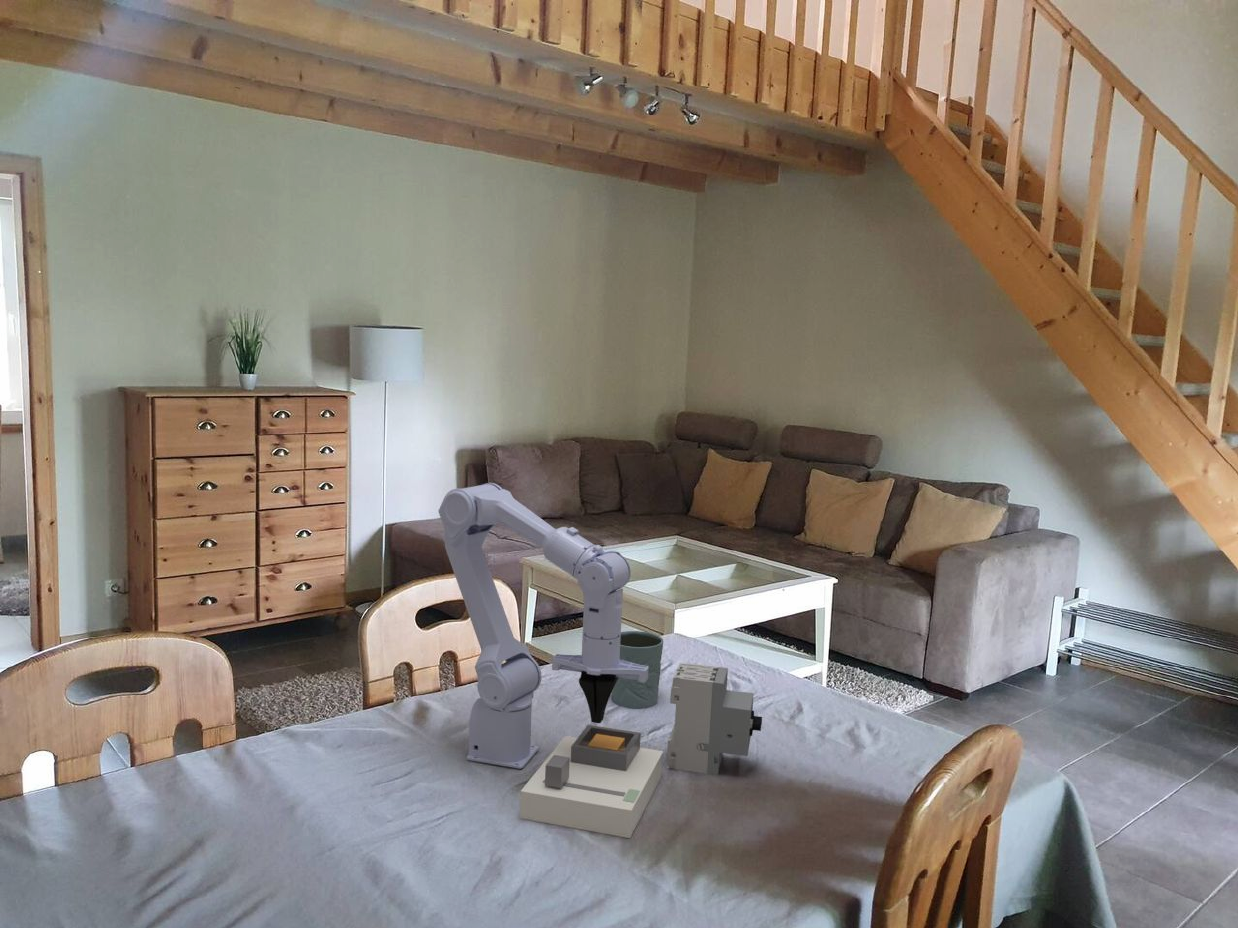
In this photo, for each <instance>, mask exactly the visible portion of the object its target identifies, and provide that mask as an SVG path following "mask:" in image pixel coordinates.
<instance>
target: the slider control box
mask: <svg viewBox="0 0 1238 928" xmlns="http://www.w3.org/2000/svg"><path fill="white" fill-rule="evenodd" d="M596 734H601V735H608V736H614V737H620V738H625V748H624V751H623V752H619V751H612V750H606V749H600V748H593V747H588V745H589V743H590V742H591V740H592V739H593V738H594V736H595V735H596ZM641 735H642V734H641V732H637V731H632V730H631V731H630V730H623V729H618V728H612V727H605V726H598V725H591V724H587V725H586V726H585V728H584V729H583V731H581V733H580V734H579V736H578V737H574V736H569V735H568V736H567V735H565V736H564V737H563V738H562V740H561V741H560V742H559V743H558V745H557V746H556V747H555V748H554V749H553V750H552V752H551V753H550V754H549V756H548V757H547V758H546V759H545V760H544V761H543V763H542V764H541V765H540V766H539V768H538V769H537V770H536V772H535V773H534V774H533V775H532V777H530V779H529V780H528V781H527V783H525V785H524V786H523V787H522V789H520V799H519V800H520V801H519V819H523V820H529V821H532V822H533V821H534V822H539V823H544V824H551V825H555V826H556V825H557V826H562V827H567V828H572V829H577V830H584V831H588V832H594V833H600V834H605V835H610V836H615V837H621V838H626V839H631V838H632V835H633V833H634V831H635V829H636V827H637V826H638V824H639V821H640V820H641V817H642V815H643V813H644V812H645V810H646V807H647V805H648V804H649V802H650V800H651V798H652V796H653V794H654V792H655V790H656V788H657V786H658V784H659V782H660V780H661V779H662V776H663V766H664V765H663V764H664V763H663V762H664V751H663V750H657V749H651V748H644V747H641ZM554 755H558V756H564V757H570V765H569V778H568V779H567V781H566V782H565V783H564V785H563V786H562V788H557V787H551V786H545V769H546V764H547V763H548V762H549V760H550V759H551V758H552V757H553V756H554Z"/></svg>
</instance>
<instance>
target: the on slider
mask: <svg viewBox="0 0 1238 928" xmlns="http://www.w3.org/2000/svg"><path fill="white" fill-rule="evenodd" d="M569 765H570V757H564V756H558V755H554V756H553V757H552V758H551V759H550V760H549V762H548V763H547V764H546V769H545V786H551V787H557V788H562V786H563V785H564V783H565V782H566V781H567V779H568V778H569Z"/></svg>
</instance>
